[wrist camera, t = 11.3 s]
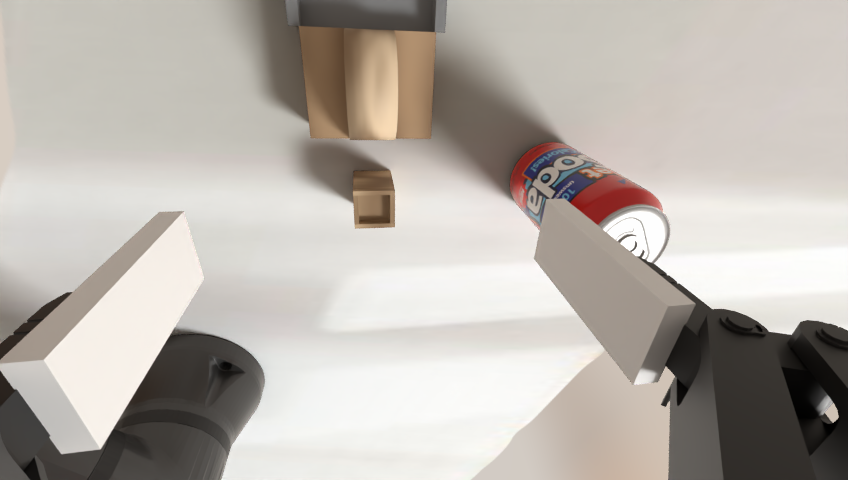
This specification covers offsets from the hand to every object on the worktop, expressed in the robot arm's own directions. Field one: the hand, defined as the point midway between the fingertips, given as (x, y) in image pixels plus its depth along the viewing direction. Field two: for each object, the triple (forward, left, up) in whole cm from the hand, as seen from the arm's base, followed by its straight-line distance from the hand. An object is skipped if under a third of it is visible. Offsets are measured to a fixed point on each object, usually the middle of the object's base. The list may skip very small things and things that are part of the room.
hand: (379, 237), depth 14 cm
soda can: (+18, -6, -24) cm, 31 cm away
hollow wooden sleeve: (0, -7, -23) cm, 25 cm away
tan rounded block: (0, +3, -23) cm, 24 cm away
